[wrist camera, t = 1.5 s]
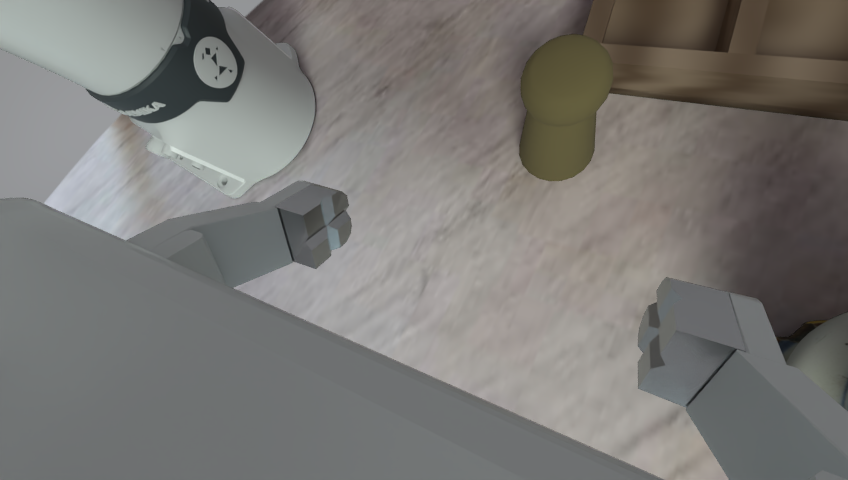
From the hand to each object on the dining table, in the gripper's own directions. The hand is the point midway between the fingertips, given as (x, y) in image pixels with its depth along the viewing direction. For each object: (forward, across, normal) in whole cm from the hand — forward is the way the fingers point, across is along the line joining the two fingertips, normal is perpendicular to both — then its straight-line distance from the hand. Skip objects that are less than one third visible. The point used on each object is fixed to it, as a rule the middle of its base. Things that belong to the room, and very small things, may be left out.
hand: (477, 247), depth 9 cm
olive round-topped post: (+24, +1, +6) cm, 25 cm away
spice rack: (+32, -9, -2) cm, 33 cm away
